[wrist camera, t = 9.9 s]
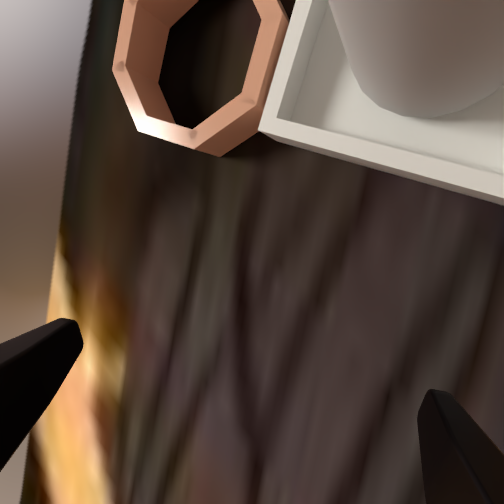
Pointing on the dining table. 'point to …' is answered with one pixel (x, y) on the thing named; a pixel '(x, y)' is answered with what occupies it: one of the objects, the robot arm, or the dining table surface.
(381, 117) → the tray
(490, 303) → the dining table surface
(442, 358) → the dining table surface
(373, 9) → the can
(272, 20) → the collar
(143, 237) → the dining table surface
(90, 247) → the dining table surface
